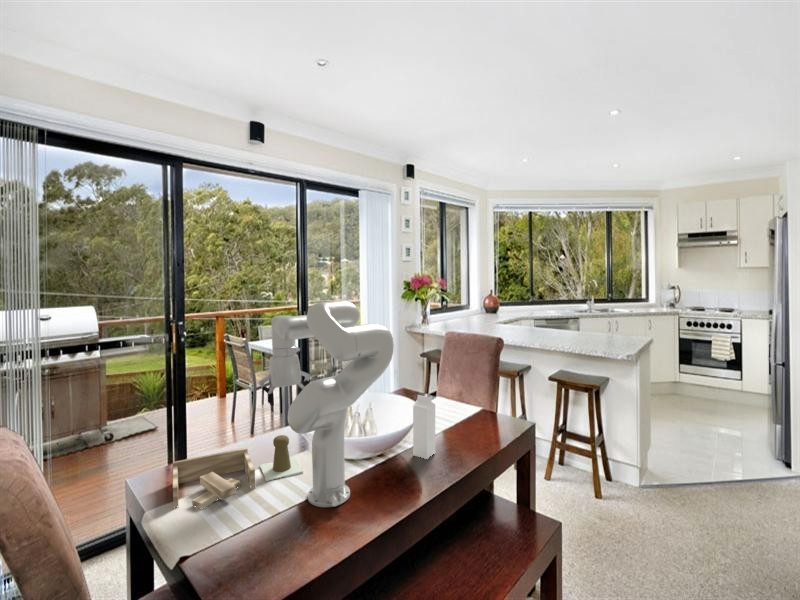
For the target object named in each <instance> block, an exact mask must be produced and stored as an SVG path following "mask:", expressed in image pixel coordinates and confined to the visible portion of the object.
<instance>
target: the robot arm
mask: <svg viewBox="0 0 800 600" xmlns="http://www.w3.org/2000/svg"><path fill="white" fill-rule="evenodd" d="M359 319H360V311H359V309H358V307H357V306H356V305H355V304H354V303H352V302H350V301H346V300H338V301H337V300H334V301H324V302H323V301H321V302H317V303H314V304H313V305H311V307H309V309H308V311H307V313H306V314H304V315H302V314H301V315H295V316H294V315H293V316H292V315H275V316H273V317H272V318H271V320H270V321H271V322H270V323H271V343H272V344H271V347H272V349H271V350H272V356H270V357H269V362H268V374H267V375H266V376H264V377H263V378H261V379H260V380H258V384H259V386H260V387H261V389H262V390H263V391H264V392H266V393H267V403H268V404H269V405H270V406H271V407H272V406H273V407H274V405H275V400H274V393H273V392H274V390H275V389H276V388H277V389H278V388H284V387H290V386H298V387H297V395H296V397H295V398H294V400H293V401H292V402H291V404H290V406H289V408H288V411H287V422H288V425H289V427H290V429H291V430H292V431H293V432H295V433H297V434H300V435H302V434H303V435H304V434H307V433H311V432H313V433H312V434H313V435H312V439H311V458H312V459H311V460H312V461H311V463H312V465H311V466H312V467H311V468H312V488H310V490H308V492H307V499H308V500H307V501H308V502H309V504H311V505H313V506H315V507H319V508H333V507H338V506H340V505H342V504H343V503H345V502H347V501H348V499H349V498H350V496H351V489H350V487H349V486H348V485H347V484H346V482H345V481H346V476H345V475H346V474H345V472H346V470H345V467H346V466H345V430H346V429H345V426H346V420H347V416H348V408H349V407H352V405H354V404H355V403H356V402H357V400H359V399H360V398H361V396H362V395H364V394H365V392H366V391H367V390H368V389H369V388H370V387H371V386H372V385H373V384H374V383H375V382H376V381H377V380H378V379H380V377H381V376H382V375H383V374H384V373H385V371H386V370H387V369H388V367H389V366H390V363H391V362H392V358H393V356H394V355H393V354H394V350H395V349H394V345H395V344H394V337H393V334H392V332H391V330H389V328H387V327H385V326H384V325H381V324H376V323H375V324H374V323H367V324H358V323H359ZM357 324H358V325H357ZM307 338H308V339H309V338H315V339H316V340H317V341H318V343H319V344H321V346H322V347H323V348H324V349H325V350H326V352H327V353H328V354H329V355H330V356H331V357H332V358H333V359H335V360H337V361H339V362H348V364H346V365H345V367H344V368H343V369H342V370H341V371H340V372H339V373H338V374H336V375H332V376H328V377H323V378H319V379H315V380H312V381H311V382H309V381H310V379H311V377H312V376H311V374H309V373H307V372H306V371H303V370H301V364H300V359H299V356H298V354H297V352H300V351H301V348H300V347H299V346H296V344H297V343H296V340H302V339H307ZM302 376H303V377H304V380H303V381H302ZM267 382H268V384H269V386H268V387H267V386H266V385H265V384H266V383H267Z"/></svg>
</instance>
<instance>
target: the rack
mask: <svg viewBox="0 0 800 600" xmlns="http://www.w3.org/2000/svg"><path fill="white" fill-rule="evenodd" d="M249 454H250V453H249V451H248V447H247V446H246V447H242V448H238V449H237V448H236V449H231V450H227V451H222V452H221V451H220V452H217V453H212V454H206V455H202V456H201V455H200V456H196V457H192V458H191V457H190V458H186V459H182V460H181V459H180V460H176V461H173V462H172V466H173V467H172V469H173V470H172V501H173V508H174V507H177V506H178V507H179V484H182V483H183V484H184V483H188V482H192V481H196V480H200V476H203V475H205V474H208V473H210V472H214V473H215V474H217V475H219V476H220V475H225V474H229V473H233V472H238V471H242V470H244V472H245V476H246V479H247V481H248V483H249V487H250V486H251V487H250V490H254V489H253V488H255V489H256V470H255V466H254V465H253V462H252V460H251V457H250V455H249Z"/></svg>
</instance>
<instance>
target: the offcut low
mask: <svg viewBox="0 0 800 600" xmlns="http://www.w3.org/2000/svg"><path fill="white" fill-rule="evenodd" d="M227 481H228V482H230V483H231V484H233V485H234V486H236V488H237V487H239V486H240V487H241V480H239V479H235V478H232V477H231V478H229V479H227ZM240 487H239V488H240ZM237 489H238V488H237ZM217 499H219V497H218V496H216V495H215V494H213V493H212V492H210V491H209V490H207V491H206V492H203V493H202V494H200V495H199V496H197V497H195V498H194V499H192V500H191V506H192V505H193V506H196V507H198V508H197V509H199V508H201V509H200V510H203V509H202V508H204V507H205V508H207V507H209V506H210V505H211V503H212V502H214V501H215V502H217V501H218V500H217ZM216 500H217V501H216ZM219 500H220V499H219ZM215 502H214V503H215ZM209 504H210V505H209ZM212 504H213V503H212ZM208 505H209V506H208ZM193 506H192V507H193ZM206 506H207V507H206ZM196 507H195V508H196ZM205 508H204V509H205Z"/></svg>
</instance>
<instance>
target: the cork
mask: <svg viewBox="0 0 800 600" xmlns="http://www.w3.org/2000/svg"><path fill="white" fill-rule="evenodd" d="M272 441H273V447H274V453H273V454H274V455H273V461H272V462H273V471H275V472H284V471H287V470H289V469H290V468H291V464H290V458H291V457H290V452H289V446H288V445H289V443H290V438H289V437H288V436H287V435H285V434H283V435H281V434H279V435H277V436H275V437H274V439H273V440H272Z"/></svg>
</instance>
